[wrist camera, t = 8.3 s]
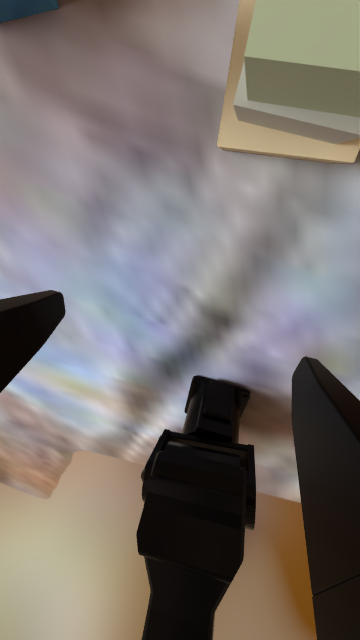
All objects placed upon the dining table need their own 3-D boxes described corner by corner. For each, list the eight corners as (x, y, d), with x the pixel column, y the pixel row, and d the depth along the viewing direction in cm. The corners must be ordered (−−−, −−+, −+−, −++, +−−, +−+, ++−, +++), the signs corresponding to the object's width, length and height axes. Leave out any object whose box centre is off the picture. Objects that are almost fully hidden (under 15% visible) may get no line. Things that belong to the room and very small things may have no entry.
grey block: (335, 144, 12) (365, 136, 9) (237, 120, 13) (233, 104, 9) (408, -13, 9) (493, -109, 6) (280, -37, 10) (295, -139, 7)
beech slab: (332, 163, 16) (353, 162, 12) (223, 150, 17) (216, 146, 13) (397, -8, 12) (453, -75, 9) (251, -12, 13) (251, -73, 10)
